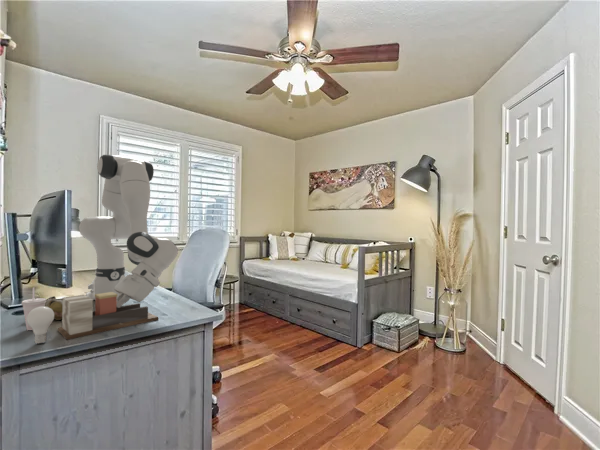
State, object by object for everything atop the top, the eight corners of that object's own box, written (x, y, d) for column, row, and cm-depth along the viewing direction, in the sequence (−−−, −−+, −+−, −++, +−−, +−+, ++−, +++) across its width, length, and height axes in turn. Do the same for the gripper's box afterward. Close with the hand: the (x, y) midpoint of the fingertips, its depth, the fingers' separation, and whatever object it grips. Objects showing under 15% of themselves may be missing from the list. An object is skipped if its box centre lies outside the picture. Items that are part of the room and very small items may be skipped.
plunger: (94, 322, 109) (94, 294, 109) (111, 318, 113) (111, 291, 113) (99, 325, 106) (99, 296, 106) (117, 322, 110) (117, 294, 110)
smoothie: (17, 333, 101) (18, 289, 101) (25, 327, 107) (26, 286, 107) (42, 330, 104) (42, 288, 104) (48, 324, 110) (49, 285, 110)
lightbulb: (38, 348, 89) (38, 310, 89) (20, 346, 91) (20, 308, 90) (59, 340, 95) (59, 304, 95) (42, 338, 97) (42, 303, 97)
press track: (57, 330, 104) (58, 297, 104) (144, 313, 125) (145, 285, 125) (66, 339, 96) (67, 304, 96) (158, 319, 117) (158, 290, 117)
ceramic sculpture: (42, 292, 121) (84, 294, 123) (41, 314, 121) (82, 315, 123) (22, 299, 111) (68, 300, 113) (20, 323, 111) (66, 324, 113)
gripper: (127, 267, 124) (99, 296, 117) (149, 273, 111) (119, 306, 103) (139, 277, 128) (112, 305, 120) (162, 284, 114) (133, 316, 107)
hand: (115, 306), depth 112 cm, fingers closed, pressing on plunger
